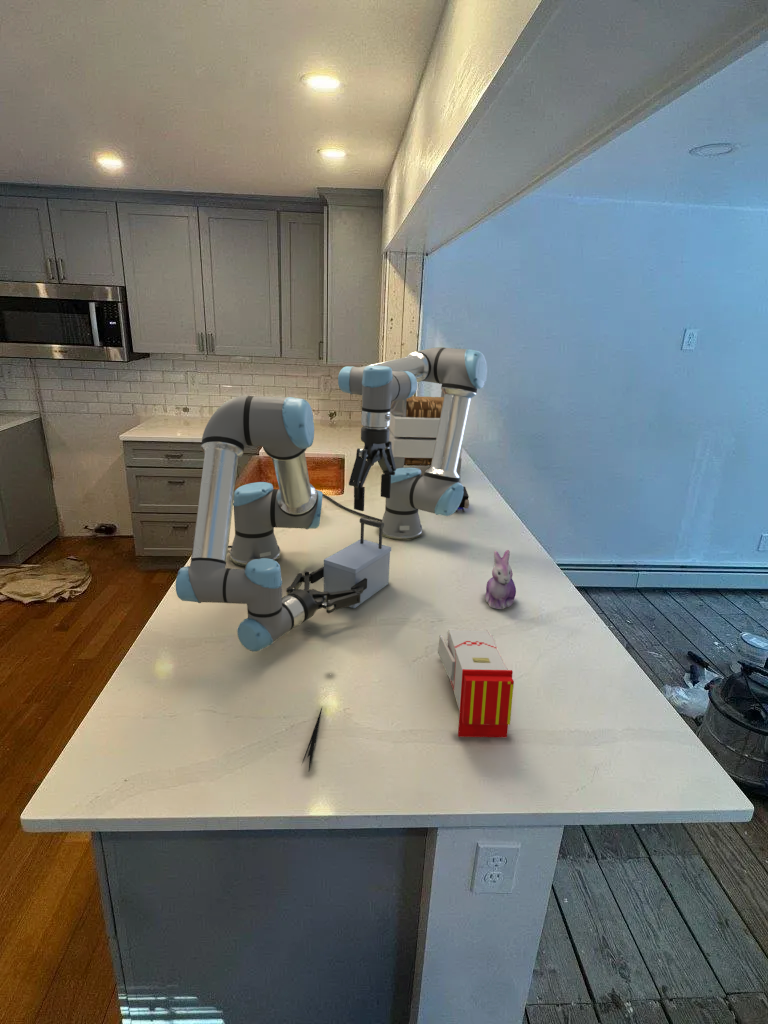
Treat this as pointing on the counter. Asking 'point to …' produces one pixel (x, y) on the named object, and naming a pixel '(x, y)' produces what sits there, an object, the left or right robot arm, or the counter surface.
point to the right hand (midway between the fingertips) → (372, 503)
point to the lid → (359, 551)
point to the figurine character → (464, 501)
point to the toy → (478, 682)
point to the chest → (358, 578)
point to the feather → (313, 740)
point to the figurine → (501, 583)
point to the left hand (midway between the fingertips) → (345, 576)
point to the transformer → (415, 430)
